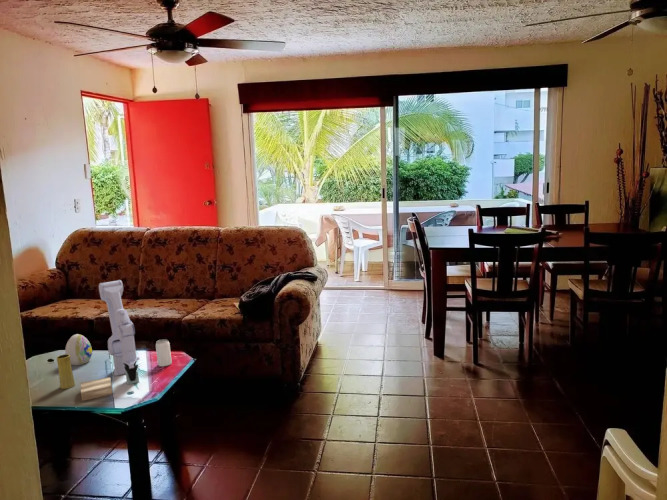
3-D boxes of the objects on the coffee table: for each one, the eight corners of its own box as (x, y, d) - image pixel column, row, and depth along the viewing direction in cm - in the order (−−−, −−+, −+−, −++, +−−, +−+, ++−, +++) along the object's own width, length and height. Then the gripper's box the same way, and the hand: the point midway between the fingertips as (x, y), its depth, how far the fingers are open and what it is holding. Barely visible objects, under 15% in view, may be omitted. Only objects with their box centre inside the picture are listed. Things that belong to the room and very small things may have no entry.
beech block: (82, 391, 231) (81, 383, 230) (111, 385, 236) (110, 377, 235) (82, 401, 220) (80, 392, 220) (112, 395, 225) (111, 386, 224)
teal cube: (126, 380, 239) (125, 370, 238) (138, 378, 241) (136, 368, 240) (127, 384, 234) (126, 374, 234) (139, 382, 237) (137, 371, 236)
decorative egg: (86, 366, 262) (82, 337, 260) (62, 367, 262) (58, 339, 260) (97, 357, 274) (93, 330, 272) (74, 359, 274) (70, 331, 272)
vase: (63, 384, 240) (59, 354, 238) (77, 382, 241) (72, 353, 238) (57, 389, 234) (53, 359, 232) (71, 388, 235) (67, 357, 232)
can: (167, 367, 253) (164, 343, 251) (155, 366, 254) (152, 343, 253) (174, 362, 259) (171, 338, 258) (162, 362, 261) (159, 338, 259)
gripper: (139, 352, 231) (143, 381, 233) (136, 343, 244) (140, 371, 246) (122, 355, 228) (126, 385, 230) (120, 346, 241) (124, 374, 243)
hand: (132, 378), depth 238 cm, fingers closed on teal cube, 5 cm apart
